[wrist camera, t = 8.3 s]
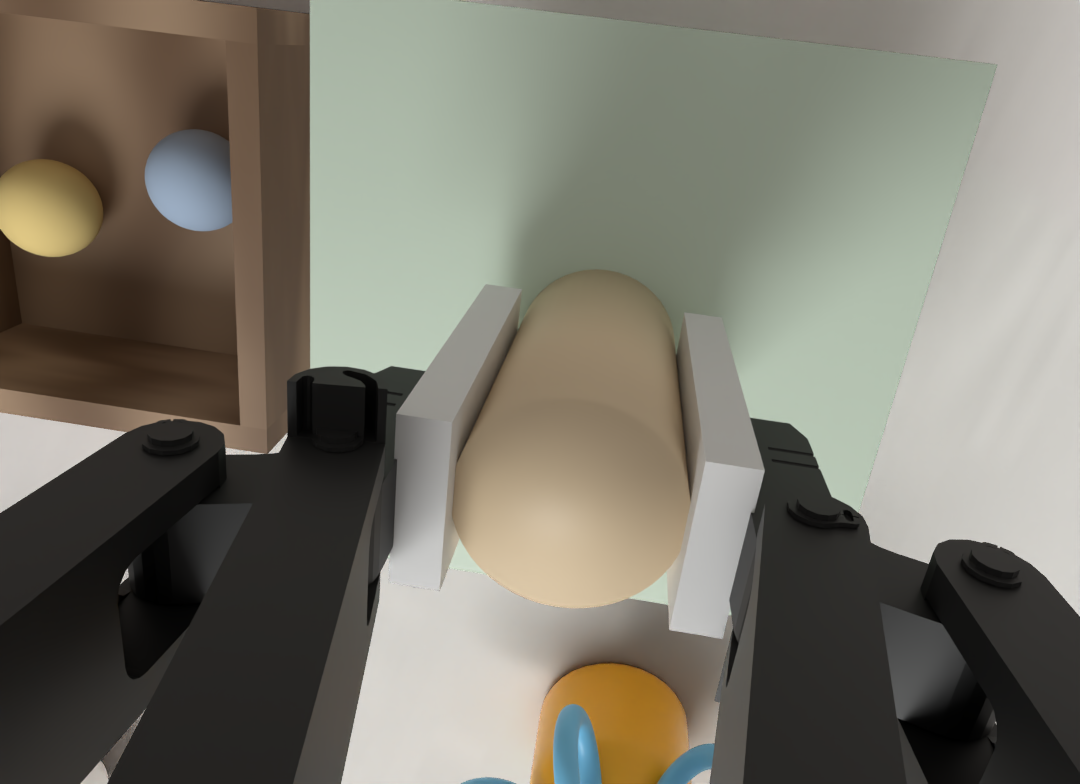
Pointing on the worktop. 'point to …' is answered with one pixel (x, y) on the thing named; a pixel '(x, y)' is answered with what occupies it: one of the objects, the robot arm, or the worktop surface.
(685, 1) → the worktop surface
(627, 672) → the cylinder
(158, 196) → the ball
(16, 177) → the ball
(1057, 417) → the worktop surface
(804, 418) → the lid
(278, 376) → the box
